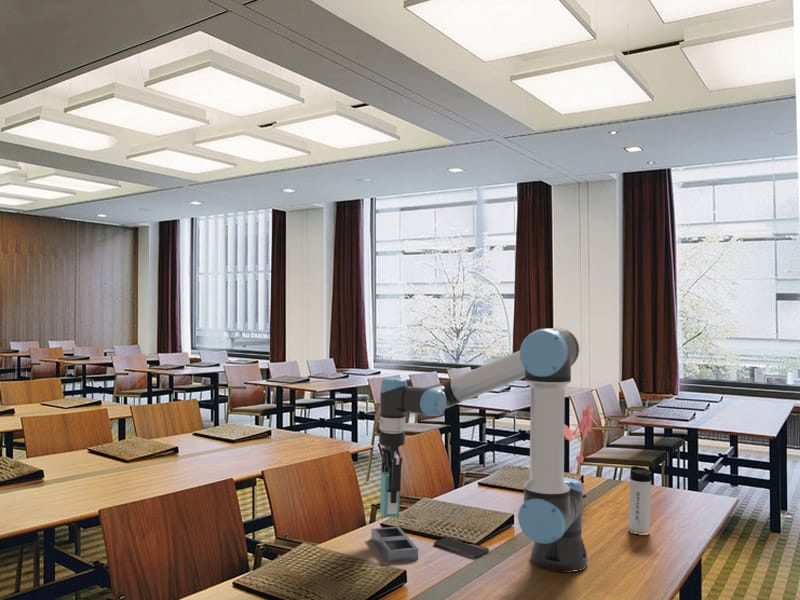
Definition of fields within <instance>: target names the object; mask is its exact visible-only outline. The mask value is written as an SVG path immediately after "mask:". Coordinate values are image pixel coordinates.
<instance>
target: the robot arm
mask: <svg viewBox="0 0 800 600" xmlns="http://www.w3.org/2000/svg"><path fill="white" fill-rule="evenodd" d="M579 354H580V344H579V341H578V339H577V338H576V336H575V334H573V333H572V332H571V331H569V330H568V329H565V328H563V327H551V328H538V329H536V330H534V331H533V332H530V333H529V334H528V335H527V336H526V337H525V338H524V340H523V341H522V343H521V345H520V347H519V350H518V351H515V352H512V353H511V354H508V355H505V356H504V357H501V358H498V359H496V360H494V361H492V362H489V363H486V364H485V365H481V366H479V367H476V368H474V369H472V370H470V371H467V372H465V373H463V374H460V375H457V376H456V377H453V378H450V379H447V380H444V381H443V382H440V383H437V384H434V385H429V386H424V387H418V386H409V385H408V383H407V379H406V378H403V377H397V376H395V377H394V376H393V377H392V376H391V377H389V376H388V377H385V378H383V379H382V380H381V384H380V392H379V394H380V395H379V396H380V397H379V398H380V399H379V400H380V401H379V403H380V404H379V405H380V406H379V408H380V409H379V411H380V412H379V419H377V420H378V421H377V422H378V424H379V430H380V431H379V432H378V444H379V445H381V446H384V447H381V449H380V450H381V452H380V453H381V467H380V468H381V470H380V473H381V472H389V490H387V492H388V508H387V514H397V498H398V491H400V492H401V485H402V484H401V483H402V482H401V481H402V464H403V457H402V456H401V453H400V450H399V447H402V446H404V445H405V441H406V440H405V439H406V433H405V430H406V418H407V416H406V414H409V413H410V414H417V415H423V416H427V417H440V416H442V415H443V414H444V412H445V410H446V409H449V408H451V407H454V406H456V405H457V404H460V403H462V402H465V401H468V400H470V399H472V398H475V397H478V396H481V395H483V394H486V393H488V392H491V391H494V390H496V389H499V388H501V387H504V386H507V385H509V384H511V383H514V382H517V381H519V380H522V379H524V381H525V382H526V384H528V385H529V387H530V416H529V417H530V418H529V419H530V424H529V425H530V426H529V427H530V429H529V430H530V432H529V433H530V435H529V443H530V444H529V446H530V447H529V479H528V480H527V481H526V482H525V483H524V484H523V503H522V504H521V505H520V507H519V511H518V515H517V520H518V524H519V527H520V529H521V530H522V532H523V533H524V534H525V536H527V538H529V540H531V541H533V545H532V547H531V550H530V552H531V553H530V554H531V555H530V559H531V561H532V563H534V565H537V566H538V567H540V568H542V569H545V570H548V569H549V571H552V570H555V571H554V572H558V571H573V570H580V569H583V568H584V567H586V566H587V567H588V553H587V551H586V547H585V546H586V545H585V543H584V540H583V539H584V538H583V535H582V529H583V502H584V501H583V499H584V498H583V497H584V489H583V488H584V486H583V483H582V481H581V482H580V481H578V479H576V478H571V477H565V436H564V424H565V406H566V405H565V402H566V401H565V399H566V398H565V391H566V390H565V389H566V387H567V386H569V384H570V383H571V382H572V366H573V365H574V364H575V363H576V362H577V360H578V358H579ZM587 567H586V568H587ZM583 570H584V569H583ZM580 571H581V570H580Z"/></svg>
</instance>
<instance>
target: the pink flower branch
mask: <svg viewBox="0 0 800 600" xmlns="http://www.w3.org/2000/svg"><path fill="white" fill-rule="evenodd" d="M581 412H582V413H581V415H582V418H581V421H579V423H578V425H577V427H576V428H575V430H574V431H573V432H572V430H571V428H570V427H568V425H567V424H565V423H564V440H565V441H567V440H568V442H570V443H572V441H573V435H574V436H575V437H576V438H577V440H578V441H579V442H580V454H577V455H576V458H575V460H576V462H575V463H574V464H572V465H571V466H570V468H569V469H570V470H569V471H570V478H572V477H573V475H572V474H573V473H572V471H573V470H572V468H573V467H574V466H576V464H578V475H579V478H577V480H578V481H580V482H581V483H582V479H581V467H580V466H581V465H580V463H582V462H583V461H584V459H585V458H584V456H583V441H582V439H581V438H580V437H579V436H578V435H577V434H579V433H582V436H583V438H584V439H585V438H587V437H588V433H589V432H592V422H594V424H595V425H596V426H597V427H598V428H599V427H600V426H599V424H597V422H596V421H595V420H594V418H593V416H594V409H593V408H592V409H591V403H587V405H586V408H585V407H584V408H582V411H581ZM572 479H573V478H572ZM583 492H584V493H585V494H586V495H588V493H587V491H586V489H585V488H584V487H583ZM608 504H609V503H608V502H606V505H608ZM602 506H603V504H601V505H600V507H602Z"/></svg>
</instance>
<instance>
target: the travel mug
mask: <svg viewBox="0 0 800 600" xmlns="http://www.w3.org/2000/svg"><path fill="white" fill-rule="evenodd" d="M629 471H630V475H629V477H630V478H629V497H628V498H629V501H628V503H629V504H628V532H629V531H632V532H637V533H645V532H649V531H651V528H650V527H651V506H652V505H651V504H652V503H651V502H652V501H651V500H652V499H651V498H652V496H651V495H652V471H651V470H649V469H647V468H644V467H640V466H639V467H638V465H637V466H636V465H633V466H631V467H630V470H629Z"/></svg>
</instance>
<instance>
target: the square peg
mask: <svg viewBox="0 0 800 600" xmlns="http://www.w3.org/2000/svg"><path fill="white" fill-rule="evenodd" d="M380 476H381V477H380V505H379V513H380V515H381V516H382V517H383V518H384V519H385V518H397V517H400V502H401V501H400V500H401V499H400V498H401V490H400V491H398V498H397V514H387V508H388V492H387V490H389V472H381V471H380Z"/></svg>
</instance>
